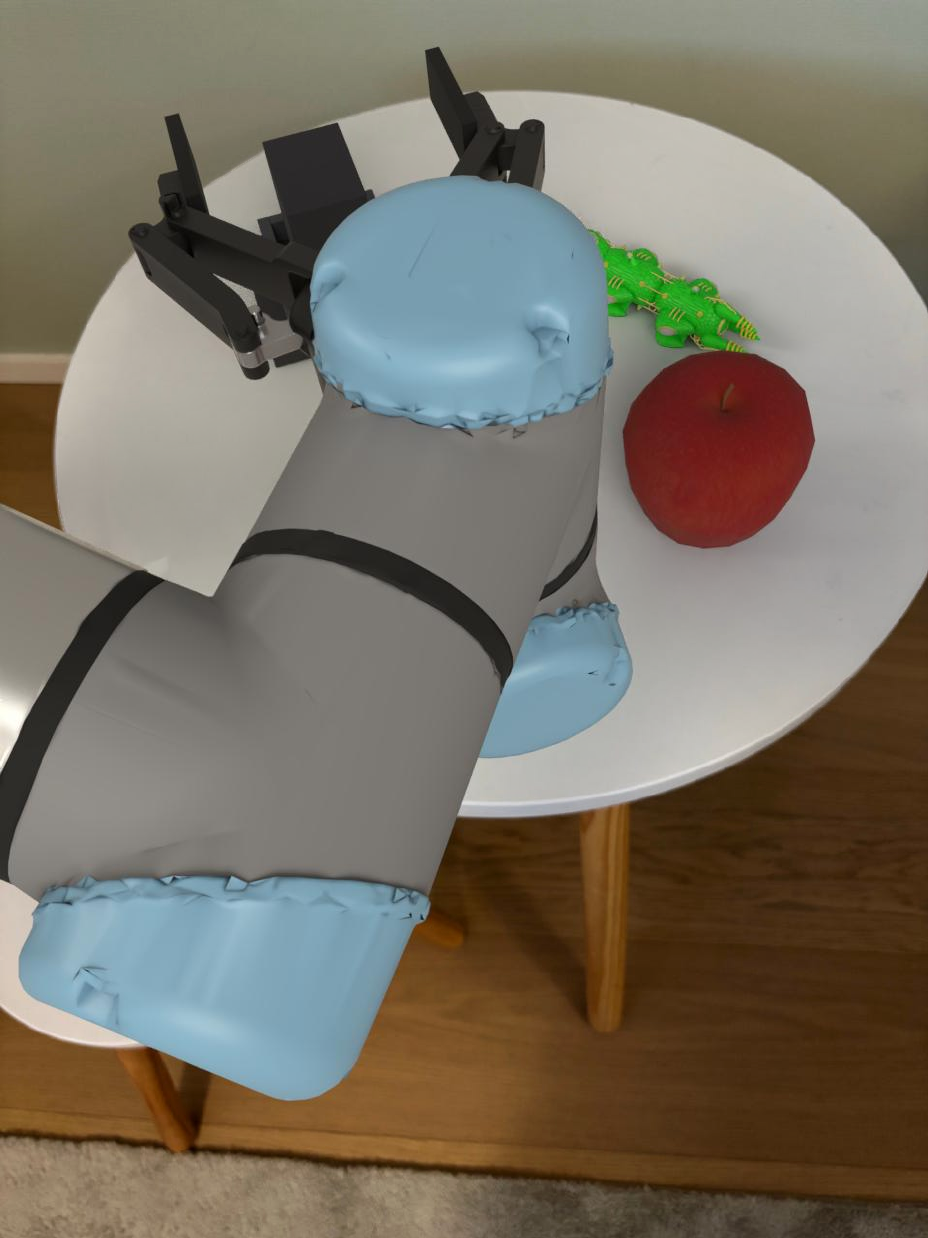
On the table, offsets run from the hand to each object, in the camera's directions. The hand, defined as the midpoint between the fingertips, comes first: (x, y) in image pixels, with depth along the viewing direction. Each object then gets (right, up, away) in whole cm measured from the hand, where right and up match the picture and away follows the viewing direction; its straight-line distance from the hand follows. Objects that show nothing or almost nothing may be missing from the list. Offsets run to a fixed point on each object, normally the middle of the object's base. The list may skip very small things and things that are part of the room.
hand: (308, 105), depth 53 cm
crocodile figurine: (+23, -2, +29) cm, 38 cm away
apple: (+25, -19, +19) cm, 37 cm away
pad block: (-2, +2, +32) cm, 32 cm away
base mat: (-2, +1, +33) cm, 33 cm away
